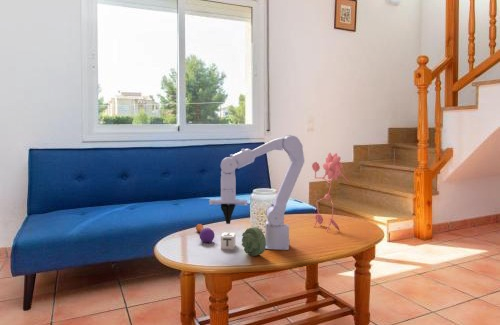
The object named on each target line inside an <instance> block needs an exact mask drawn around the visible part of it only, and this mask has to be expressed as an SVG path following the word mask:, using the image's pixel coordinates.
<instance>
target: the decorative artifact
mask: <svg viewBox="0 0 500 325" xmlns="http://www.w3.org/2000/svg"><path fill="white" fill-rule="evenodd" d="M241 236H242V238H241V242H242V243H241V245H242V247H243V248H244V249H243V250H244V252H245V253H246V254H247V255H250V256H253V257H255V256H259V255H262V254H263V253H264V252H265V251H266V249H265V247H266V240H265V235H264V232H263V231H262V230H261V229H260V228H259V227H257V226H254V227H249V228H248V227H247V229H246V230H245V231H244V232H242V234H241Z"/></svg>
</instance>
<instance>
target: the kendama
mask: <svg viewBox="0 0 500 325" xmlns="http://www.w3.org/2000/svg"><path fill="white" fill-rule="evenodd" d="M195 230H196V231H197V232H199V239H200V240H201V242H202V243H204V244H208V243H209V244H210V243H211V242H213V240H215V232H214V230H213V229H212V228H209V227H205V228H204V226H203V224H202V223H198V224H197V225H196V226H195Z"/></svg>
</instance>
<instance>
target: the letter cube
mask: <svg viewBox="0 0 500 325" xmlns="http://www.w3.org/2000/svg"><path fill="white" fill-rule="evenodd" d="M235 246H236V232H222V234H221V236H220V249H221V250H235Z"/></svg>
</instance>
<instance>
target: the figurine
mask: <svg viewBox="0 0 500 325" xmlns="http://www.w3.org/2000/svg"><path fill="white" fill-rule="evenodd" d="M311 167H312V170H313V171H314V179H322V180H324V181H326V182H327V183H328V184H329V189H328V192H327V193H326V194H325V195H324V197H323V198H321V199H318V200H316V208H317V214H316V215H315V218H314V219H315V223H314V225H313V227H314V228H315V227H316V225H317V223H318V224H319V225H322V224H323V223H324V217H323V216H322V215H321V214H320V211H319V203H318V202H319V201H322V200H324V199H325V200H326V201H329V200H330V202H331V204H332V207H334V202H333V201H332V198H331V194H330V191H331V188H332V186H333V185H332V184H333V183H332V181H333V180H335V181H337V180H338V178H339V176H342V177H343V178H344V179H345V181H347V182H348V183H349V184H350V183H351V182H350V181H349V179H348V178H346V176H345V175H344V174H343V173H342V169H343V168H344V165H343V162H341V156H338V153H334V154H332V153H331V152H328V154H327V156H326V157H325V163H323V164H322V168H323V169H324V170H325V172H324V175H323V177H322V176H321V177H318V176H317V172H319V171H320V169H321V166H320V164H319V163H318V162H317V161H314V162H313V163H312V164H311ZM326 177H327V178H326ZM329 180H330V181H329ZM331 213H332V214H331V217H329V221H330V222H329V221H328V222H327V221H326V223H327V224H328V226H327V229H326V233H328V231H329V229H330V226H331V225H332V226H333V227H334V228H335V229H337V231H339V232H340V228H339V224H338V223H336V221H335V220H334V218H333V216H334V208H332V211H331ZM344 227H345V228H347V226H346V225H344ZM335 235H338V234H333V236H335Z"/></svg>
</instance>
